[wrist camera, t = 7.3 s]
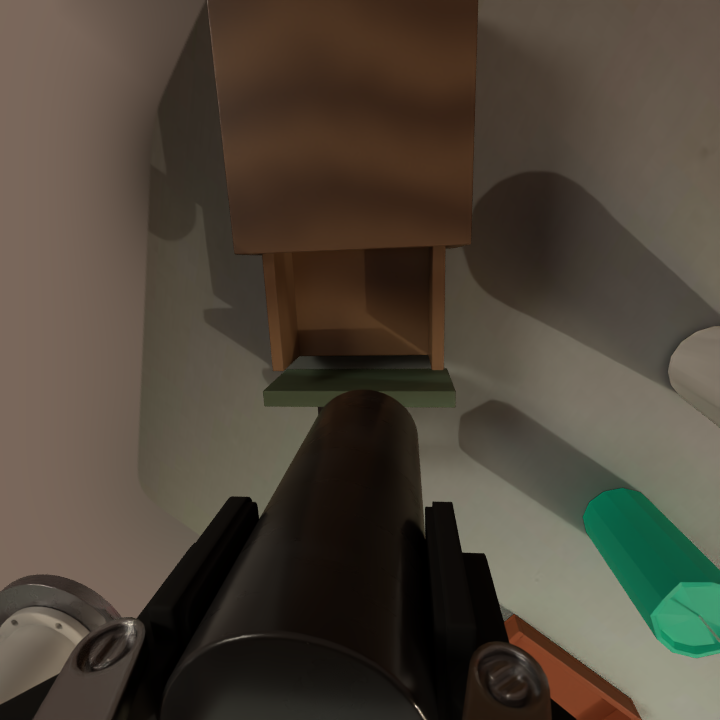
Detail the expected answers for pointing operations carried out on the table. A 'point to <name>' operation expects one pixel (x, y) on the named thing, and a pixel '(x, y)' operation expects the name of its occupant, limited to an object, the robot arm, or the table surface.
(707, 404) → the cup
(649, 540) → the candle
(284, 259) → the drawer
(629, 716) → the tray
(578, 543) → the table surface
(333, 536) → the cylinder
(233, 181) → the cabinet
